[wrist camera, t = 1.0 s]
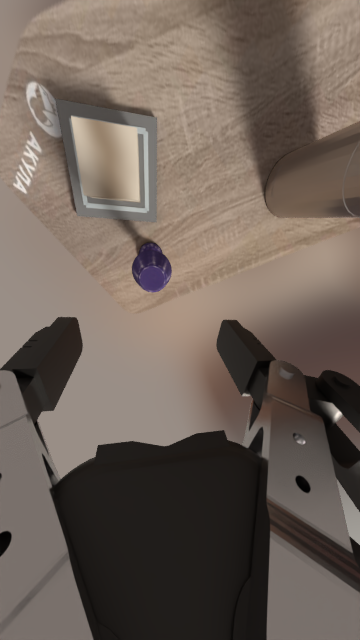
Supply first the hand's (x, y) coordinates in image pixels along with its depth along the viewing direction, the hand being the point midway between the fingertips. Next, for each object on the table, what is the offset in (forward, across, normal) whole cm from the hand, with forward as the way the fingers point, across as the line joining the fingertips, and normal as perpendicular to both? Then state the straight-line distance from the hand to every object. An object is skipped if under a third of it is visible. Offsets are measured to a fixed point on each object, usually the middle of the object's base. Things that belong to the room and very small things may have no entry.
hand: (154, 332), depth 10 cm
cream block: (+25, +5, -11) cm, 28 cm away
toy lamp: (+26, 0, 0) cm, 26 cm away
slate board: (+26, +5, -11) cm, 28 cm away
